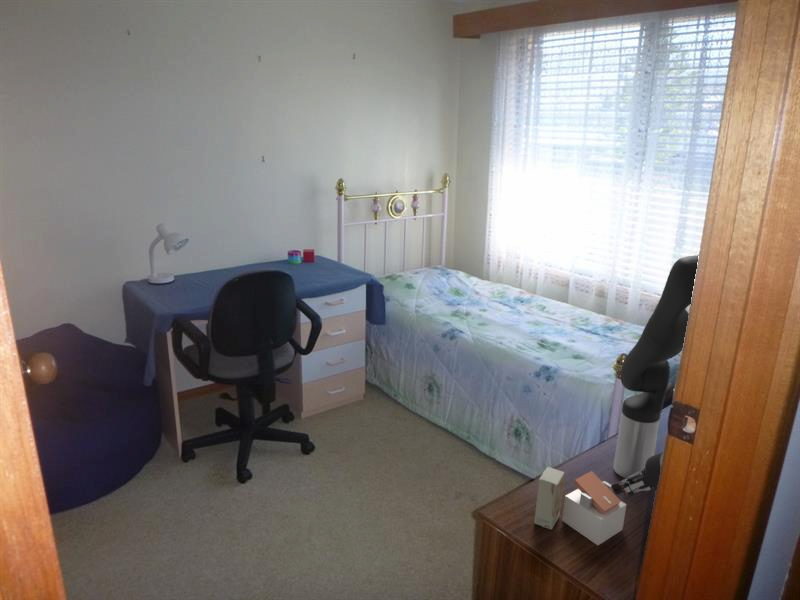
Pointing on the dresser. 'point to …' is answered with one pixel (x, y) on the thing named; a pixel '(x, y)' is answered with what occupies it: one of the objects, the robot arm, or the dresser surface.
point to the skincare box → (549, 497)
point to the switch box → (592, 517)
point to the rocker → (597, 492)
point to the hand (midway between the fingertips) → (614, 489)
